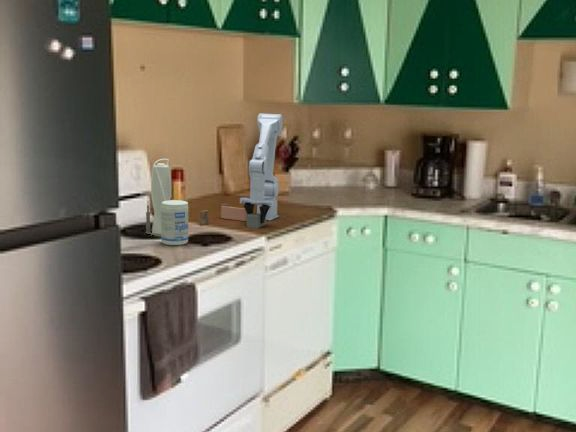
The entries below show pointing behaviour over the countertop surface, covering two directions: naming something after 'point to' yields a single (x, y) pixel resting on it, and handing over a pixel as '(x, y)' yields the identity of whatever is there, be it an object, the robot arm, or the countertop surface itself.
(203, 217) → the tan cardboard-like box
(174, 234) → the supplement tub
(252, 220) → the block
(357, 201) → the countertop surface
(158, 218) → the skyscraper
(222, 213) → the door
